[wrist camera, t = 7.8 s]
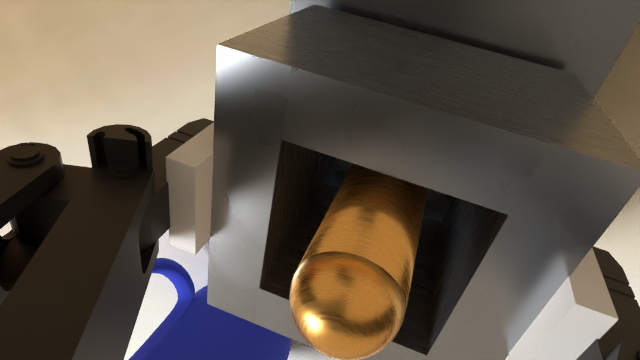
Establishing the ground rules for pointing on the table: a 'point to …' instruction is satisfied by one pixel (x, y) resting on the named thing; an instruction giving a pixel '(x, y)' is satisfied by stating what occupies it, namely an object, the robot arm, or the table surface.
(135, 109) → the table surface
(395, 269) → the keeper
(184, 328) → the mug
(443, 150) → the hollow square tube
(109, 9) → the table surface
